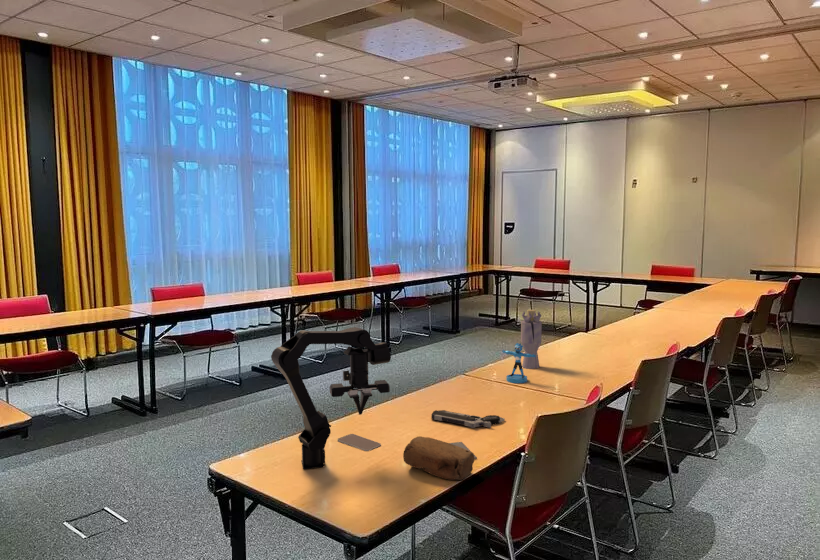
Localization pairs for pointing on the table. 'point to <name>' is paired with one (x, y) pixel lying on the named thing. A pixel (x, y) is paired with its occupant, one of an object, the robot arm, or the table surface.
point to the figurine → (517, 377)
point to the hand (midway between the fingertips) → (360, 414)
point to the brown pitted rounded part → (439, 458)
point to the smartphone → (359, 442)
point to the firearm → (466, 419)
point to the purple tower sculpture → (531, 338)
